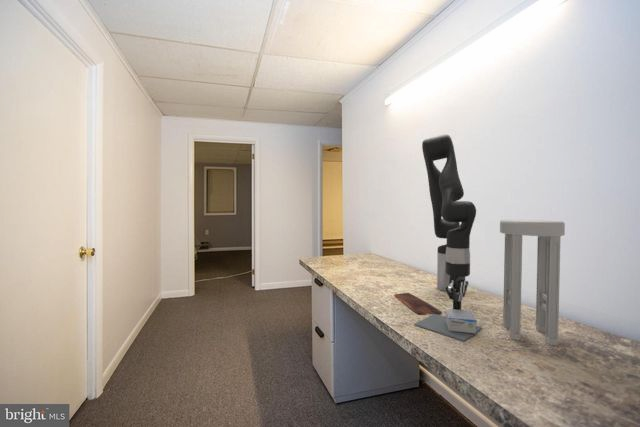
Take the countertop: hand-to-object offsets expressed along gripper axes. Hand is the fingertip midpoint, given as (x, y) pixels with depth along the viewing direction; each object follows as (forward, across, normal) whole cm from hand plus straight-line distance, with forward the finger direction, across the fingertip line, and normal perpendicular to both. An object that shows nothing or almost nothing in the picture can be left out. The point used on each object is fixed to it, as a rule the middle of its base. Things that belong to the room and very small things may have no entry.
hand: (457, 310), depth 100 cm
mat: (+4, +7, 0) cm, 8 cm away
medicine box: (+1, +1, +1) cm, 2 cm away
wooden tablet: (+5, -7, -20) cm, 22 cm away
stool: (+4, -6, +19) cm, 20 cm away
